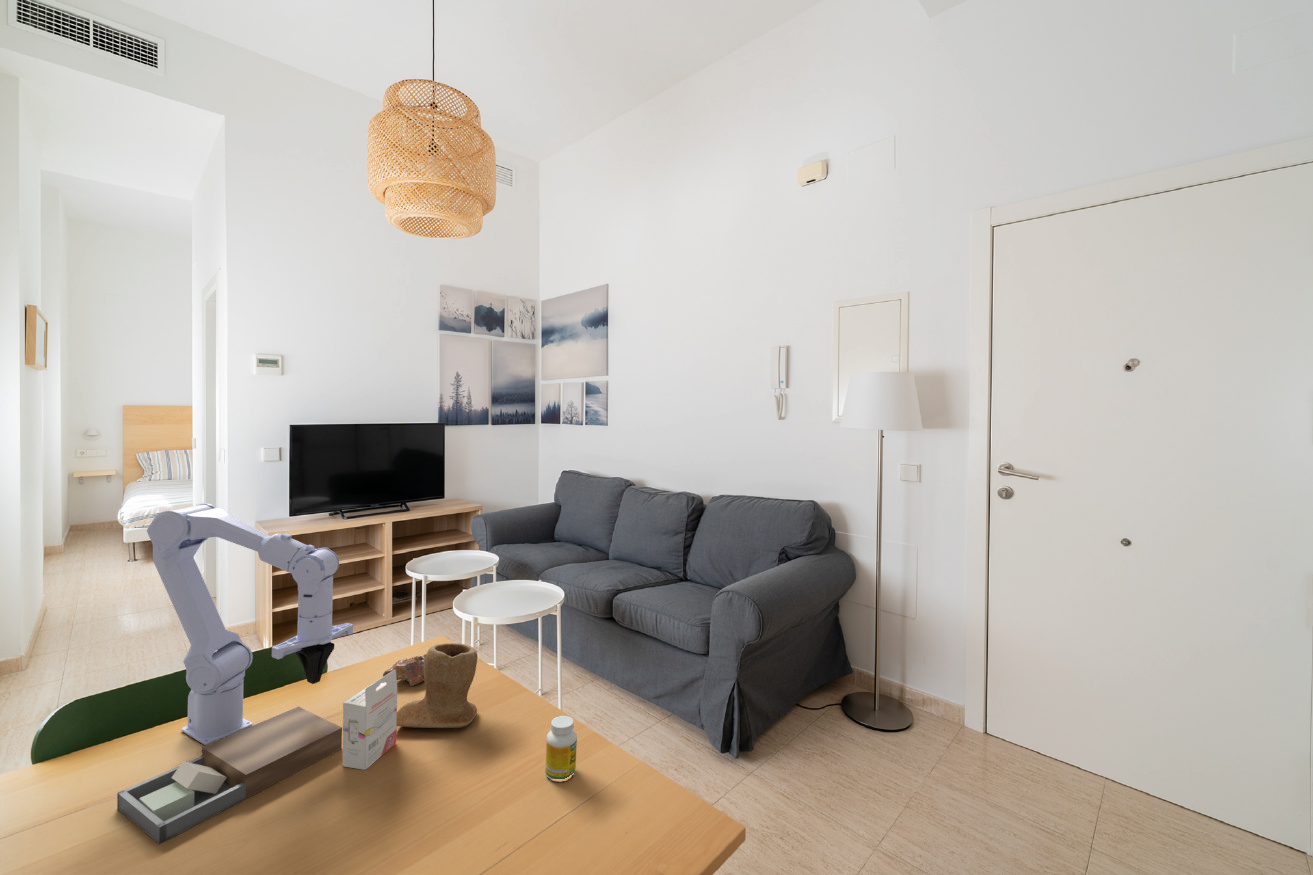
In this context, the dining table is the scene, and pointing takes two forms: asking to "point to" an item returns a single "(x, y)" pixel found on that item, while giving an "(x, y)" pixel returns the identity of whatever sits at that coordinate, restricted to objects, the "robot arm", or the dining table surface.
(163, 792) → the sage tile
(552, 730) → the supplement bottle
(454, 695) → the brown hollow boot figurine
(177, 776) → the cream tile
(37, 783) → the dining table surface
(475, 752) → the dining table surface
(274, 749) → the walnut board
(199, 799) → the tray
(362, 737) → the ink cartridge box
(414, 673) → the mineral specimen
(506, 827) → the dining table surface
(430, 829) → the dining table surface
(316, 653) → the robot arm
